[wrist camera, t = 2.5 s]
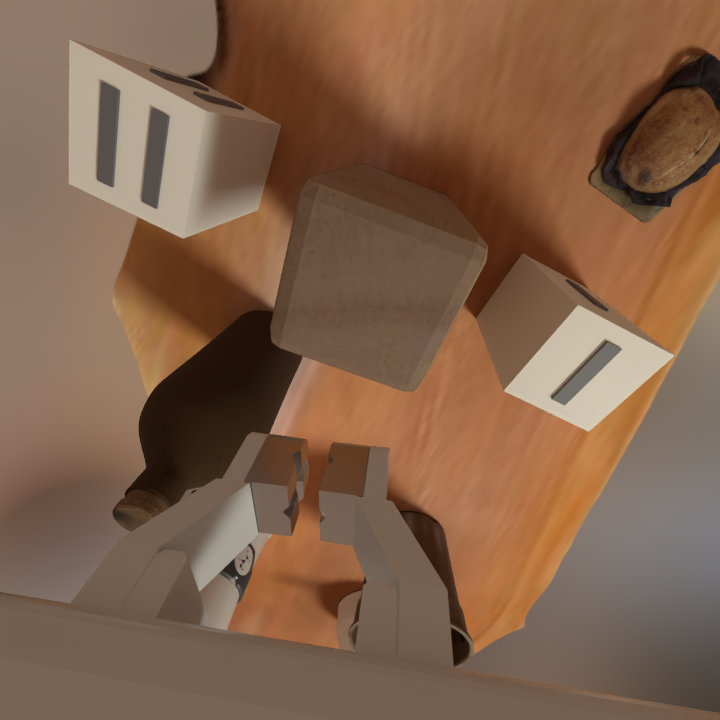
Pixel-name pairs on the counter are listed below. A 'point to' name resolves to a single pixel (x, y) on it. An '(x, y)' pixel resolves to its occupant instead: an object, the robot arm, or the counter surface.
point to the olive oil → (207, 415)
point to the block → (374, 275)
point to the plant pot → (438, 555)
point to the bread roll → (665, 141)
